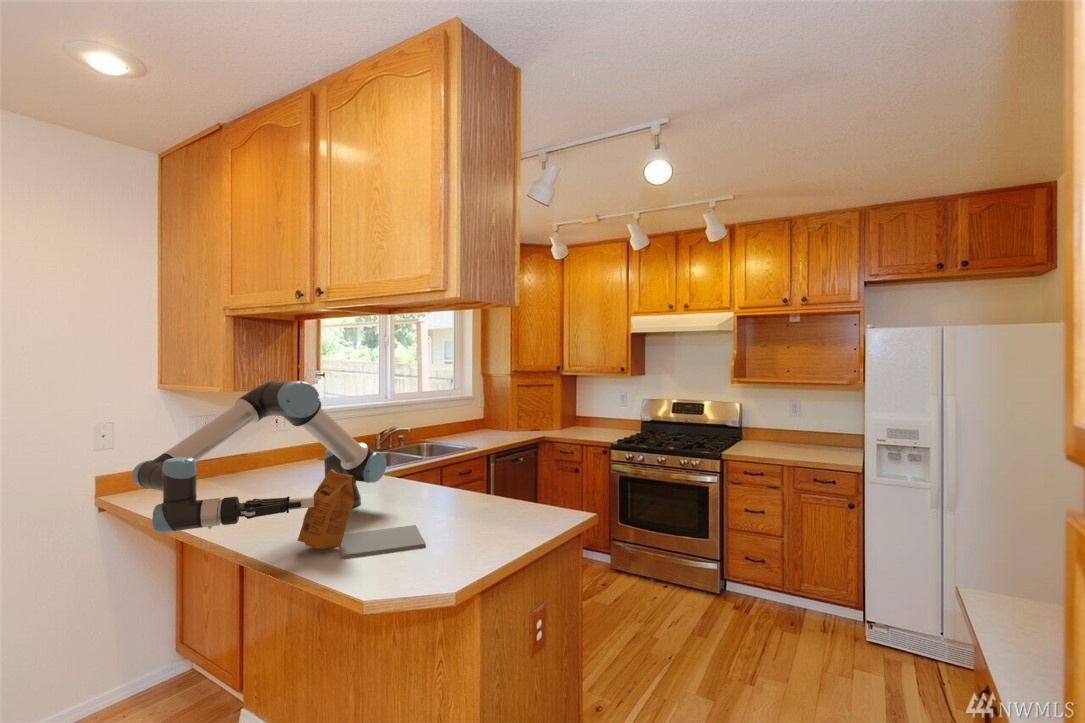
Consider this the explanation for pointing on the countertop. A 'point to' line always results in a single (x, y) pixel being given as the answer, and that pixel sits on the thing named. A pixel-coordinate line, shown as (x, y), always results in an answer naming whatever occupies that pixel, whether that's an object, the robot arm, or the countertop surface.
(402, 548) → the topple mat
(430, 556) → the countertop surface
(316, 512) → the coffee package
